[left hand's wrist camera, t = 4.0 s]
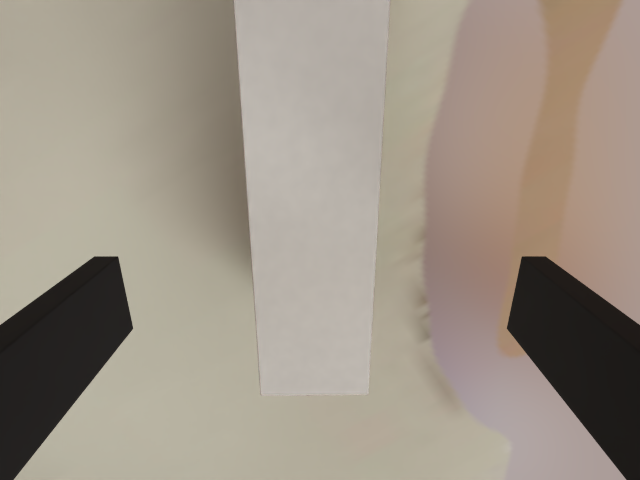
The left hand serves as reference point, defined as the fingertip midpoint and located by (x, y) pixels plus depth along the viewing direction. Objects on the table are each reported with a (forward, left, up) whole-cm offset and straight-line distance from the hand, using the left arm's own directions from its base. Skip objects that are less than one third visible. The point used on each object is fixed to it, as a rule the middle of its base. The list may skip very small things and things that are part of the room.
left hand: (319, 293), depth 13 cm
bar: (+18, -4, -12) cm, 22 cm away
